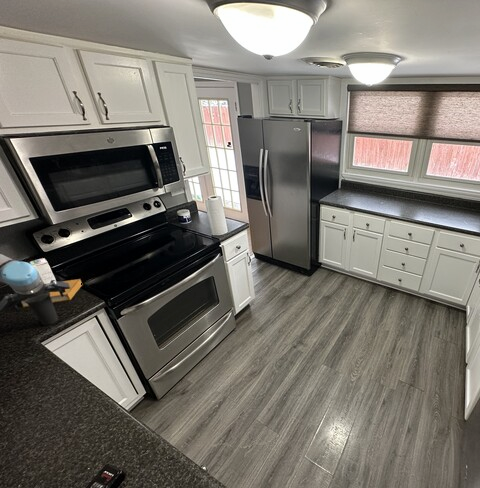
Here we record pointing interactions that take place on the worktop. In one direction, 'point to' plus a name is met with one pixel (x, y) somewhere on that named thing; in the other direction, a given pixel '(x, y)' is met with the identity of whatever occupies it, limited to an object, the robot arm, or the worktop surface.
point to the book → (67, 295)
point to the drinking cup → (43, 308)
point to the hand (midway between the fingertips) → (40, 301)
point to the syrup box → (43, 270)
